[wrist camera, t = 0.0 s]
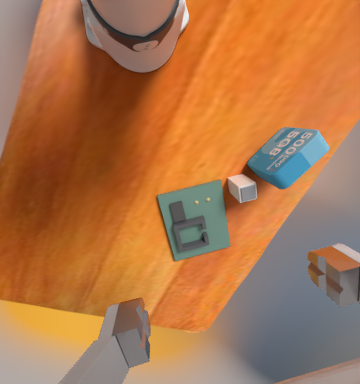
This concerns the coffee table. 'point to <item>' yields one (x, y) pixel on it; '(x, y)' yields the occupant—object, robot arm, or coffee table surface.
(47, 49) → the coffee table surface
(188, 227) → the board
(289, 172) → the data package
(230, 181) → the plug
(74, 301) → the coffee table surface
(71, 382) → the robot arm
